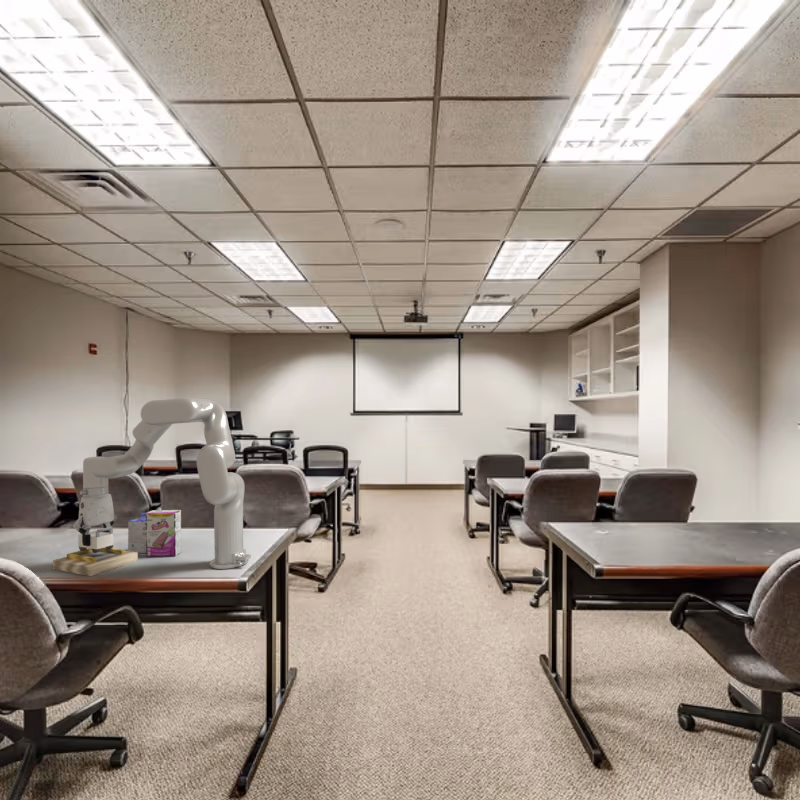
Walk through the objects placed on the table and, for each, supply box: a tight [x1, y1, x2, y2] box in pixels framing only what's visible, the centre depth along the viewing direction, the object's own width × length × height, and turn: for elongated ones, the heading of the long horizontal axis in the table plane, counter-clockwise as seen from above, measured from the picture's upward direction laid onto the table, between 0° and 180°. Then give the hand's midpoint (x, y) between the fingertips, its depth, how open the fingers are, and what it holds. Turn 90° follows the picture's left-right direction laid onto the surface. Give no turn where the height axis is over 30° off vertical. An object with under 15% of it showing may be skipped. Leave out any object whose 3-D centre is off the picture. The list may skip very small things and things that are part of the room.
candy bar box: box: [145, 509, 182, 558], centre depth 179 cm, size 11×5×16 cm, turn 90°
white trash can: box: [78, 526, 115, 553], centre depth 169 cm, size 10×6×8 cm, turn 66°
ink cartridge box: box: [127, 512, 147, 554], centre depth 185 cm, size 10×6×14 cm, turn 84°
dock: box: [52, 547, 139, 577], centre depth 168 cm, size 20×17×4 cm
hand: (96, 542), depth 169 cm, fingers closed on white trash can, 6 cm apart
